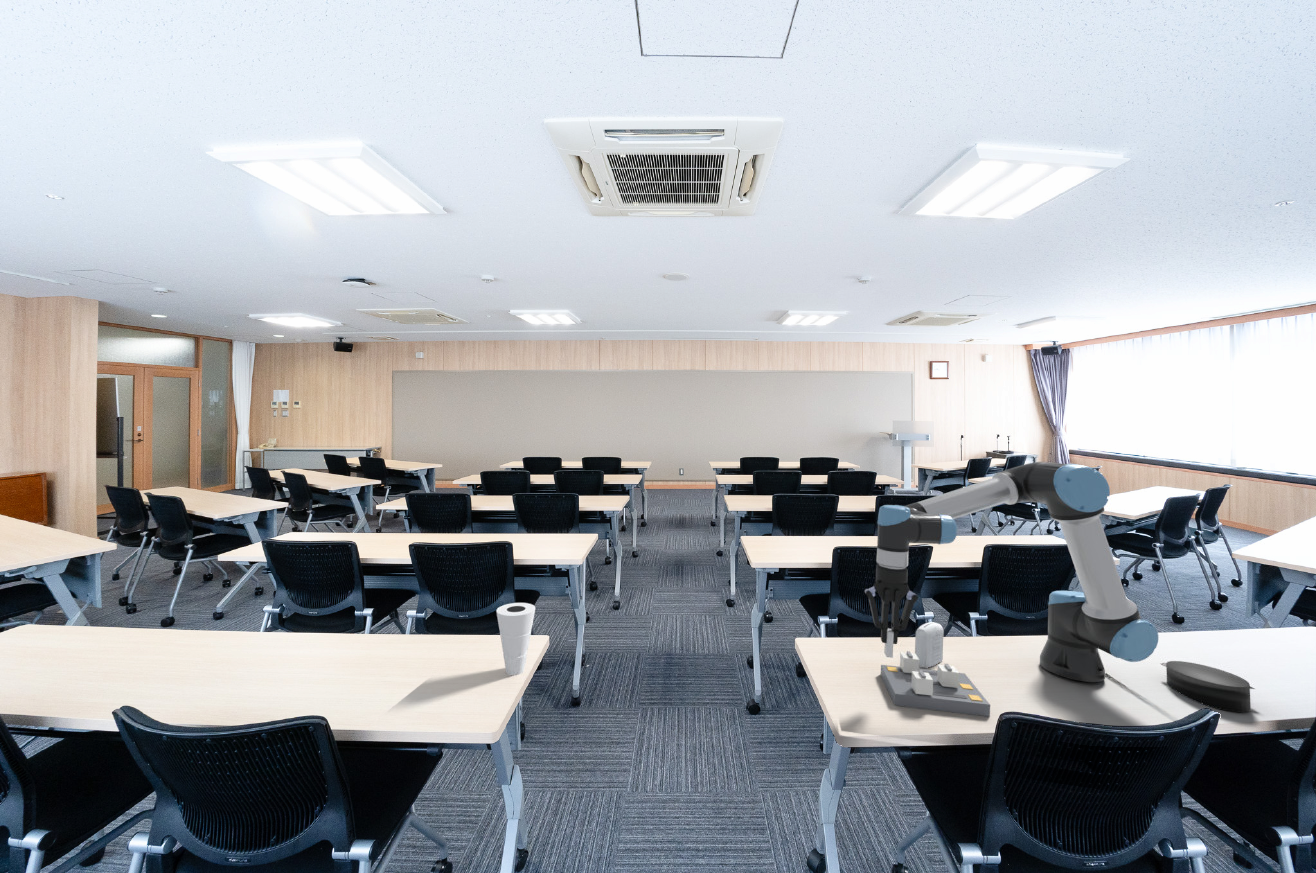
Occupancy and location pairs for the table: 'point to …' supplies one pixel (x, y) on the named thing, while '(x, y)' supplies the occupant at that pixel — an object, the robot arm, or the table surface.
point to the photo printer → (929, 644)
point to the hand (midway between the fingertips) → (888, 655)
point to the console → (935, 693)
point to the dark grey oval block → (1209, 685)
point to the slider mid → (948, 676)
